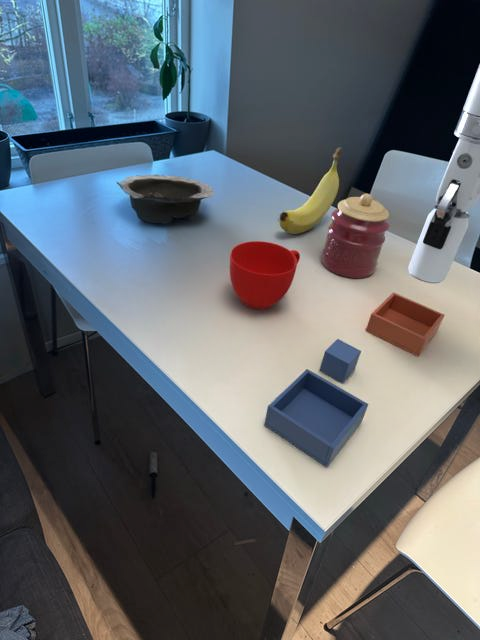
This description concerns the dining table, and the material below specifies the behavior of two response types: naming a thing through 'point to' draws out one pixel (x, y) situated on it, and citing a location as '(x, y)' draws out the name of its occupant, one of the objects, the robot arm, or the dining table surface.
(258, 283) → the ceramic cup
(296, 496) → the dining table surface
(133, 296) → the dining table surface
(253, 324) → the dining table surface
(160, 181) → the stone bowl
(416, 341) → the terracotta bin
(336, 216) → the kitchen canister
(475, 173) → the robot arm
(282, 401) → the slate bin
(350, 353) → the block
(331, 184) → the banana
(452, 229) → the can
